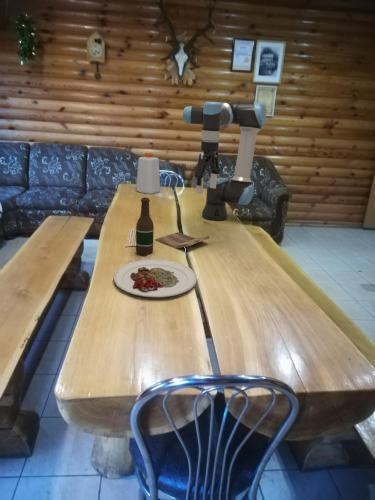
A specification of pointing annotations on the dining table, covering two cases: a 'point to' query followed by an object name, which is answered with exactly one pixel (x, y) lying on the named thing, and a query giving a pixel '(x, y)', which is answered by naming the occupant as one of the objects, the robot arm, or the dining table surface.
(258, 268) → the dining table surface
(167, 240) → the floor panel
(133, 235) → the newspaper
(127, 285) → the plated food
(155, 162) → the white thread spool
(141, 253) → the beer bottle
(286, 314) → the dining table surface
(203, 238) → the plank
